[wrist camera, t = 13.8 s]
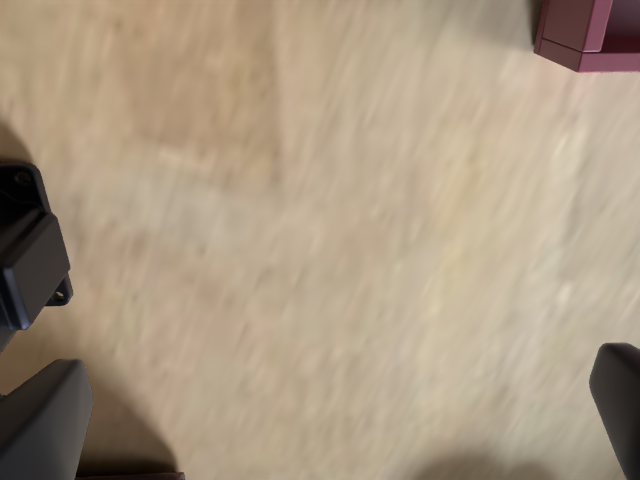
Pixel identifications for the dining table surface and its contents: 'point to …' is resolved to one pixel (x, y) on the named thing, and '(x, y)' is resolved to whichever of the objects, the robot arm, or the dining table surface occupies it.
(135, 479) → the diary
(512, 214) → the dining table surface
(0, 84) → the dining table surface
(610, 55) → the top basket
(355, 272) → the dining table surface
